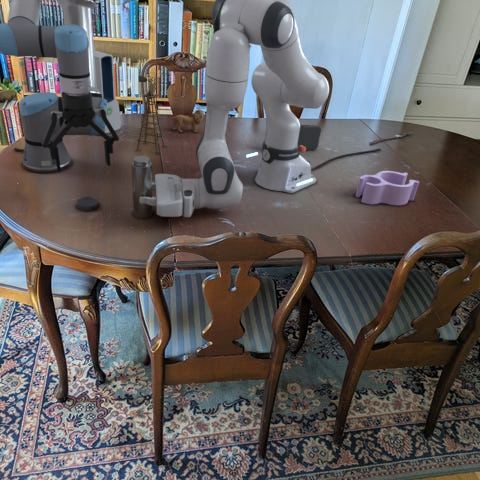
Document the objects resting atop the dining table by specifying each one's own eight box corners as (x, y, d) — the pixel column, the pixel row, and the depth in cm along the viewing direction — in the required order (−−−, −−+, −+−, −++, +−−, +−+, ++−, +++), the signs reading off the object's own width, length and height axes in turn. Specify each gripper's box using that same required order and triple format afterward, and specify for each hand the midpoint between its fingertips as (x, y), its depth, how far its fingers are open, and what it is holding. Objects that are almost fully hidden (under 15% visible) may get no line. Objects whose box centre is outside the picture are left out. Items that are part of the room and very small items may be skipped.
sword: (408, 132, 223) (408, 130, 222) (413, 134, 221) (414, 132, 220) (365, 144, 207) (365, 141, 206) (370, 146, 205) (370, 144, 204)
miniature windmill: (157, 154, 175) (156, 71, 159) (135, 150, 176) (133, 68, 160) (165, 145, 182) (165, 66, 166) (144, 142, 183) (143, 62, 167)
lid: (81, 200, 141) (80, 195, 140) (100, 202, 141) (99, 198, 140) (74, 209, 136) (73, 205, 135) (93, 212, 136) (93, 207, 135)
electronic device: (99, 136, 184) (93, 56, 168) (85, 131, 187) (78, 52, 171) (121, 128, 194) (118, 52, 177) (108, 124, 197) (103, 48, 180)
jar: (155, 215, 138) (155, 160, 128) (139, 220, 135) (137, 164, 125) (146, 207, 141) (145, 153, 132) (130, 211, 138) (128, 156, 129)
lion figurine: (201, 127, 203) (202, 107, 198) (204, 132, 199) (205, 111, 194) (168, 129, 198) (168, 108, 193) (170, 133, 194) (171, 112, 189)
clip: (368, 208, 154) (373, 189, 150) (349, 190, 163) (353, 172, 160) (418, 203, 160) (424, 185, 156) (397, 187, 170) (402, 169, 166)
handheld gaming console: (315, 147, 196) (319, 124, 190) (317, 149, 194) (322, 126, 188) (264, 149, 189) (267, 125, 183) (266, 152, 187) (269, 127, 181)
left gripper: (26, 99, 113) (38, 177, 124) (128, 93, 123) (130, 166, 135) (22, 89, 118) (34, 165, 130) (120, 85, 128) (123, 156, 140)
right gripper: (184, 168, 144) (138, 168, 141) (191, 200, 127) (139, 200, 124) (184, 187, 147) (139, 187, 144) (190, 220, 130) (139, 221, 127)
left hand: (83, 166), depth 132 cm, fingers open, 13 cm apart
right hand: (139, 193), depth 134 cm, fingers closed on jar, 5 cm apart
